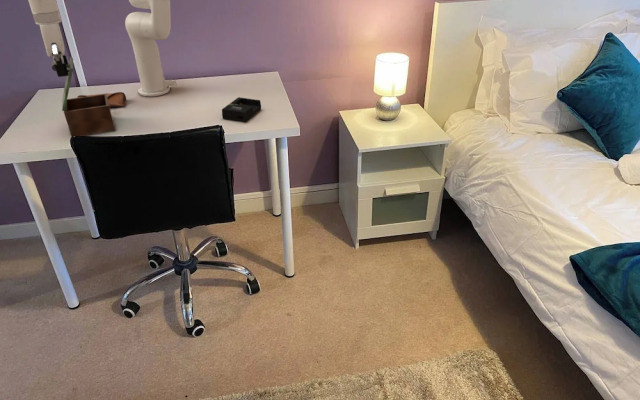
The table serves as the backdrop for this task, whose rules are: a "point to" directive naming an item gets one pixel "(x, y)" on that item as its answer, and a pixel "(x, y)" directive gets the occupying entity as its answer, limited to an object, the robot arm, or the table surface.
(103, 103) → the chest
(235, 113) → the battery charger
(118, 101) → the sunglasses case
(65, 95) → the lid
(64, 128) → the table surface
